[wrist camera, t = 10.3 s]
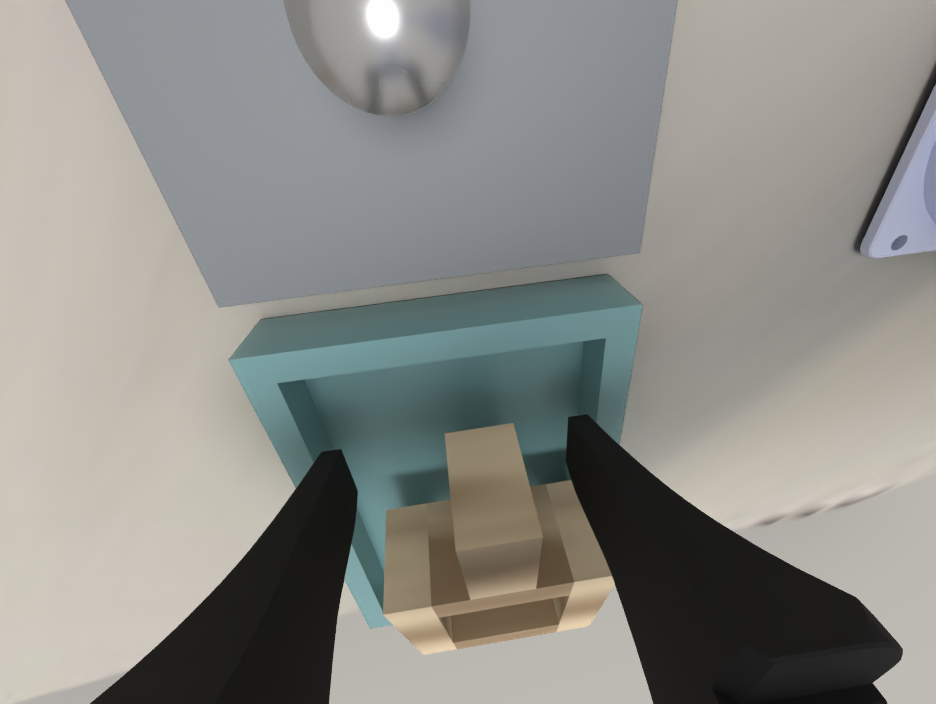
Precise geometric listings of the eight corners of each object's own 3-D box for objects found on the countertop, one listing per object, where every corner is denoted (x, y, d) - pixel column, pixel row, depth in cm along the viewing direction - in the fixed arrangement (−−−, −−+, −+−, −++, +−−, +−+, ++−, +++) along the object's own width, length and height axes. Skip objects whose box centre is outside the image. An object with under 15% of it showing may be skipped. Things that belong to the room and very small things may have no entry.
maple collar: (566, 549, 21) (589, 626, 18) (420, 573, 20) (423, 655, 18) (603, 409, 12) (656, 518, 10) (352, 448, 12) (338, 571, 9)
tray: (607, 273, 13) (642, 304, 11) (578, 547, 22) (594, 592, 20) (260, 319, 13) (228, 359, 11) (375, 579, 22) (370, 628, 20)
